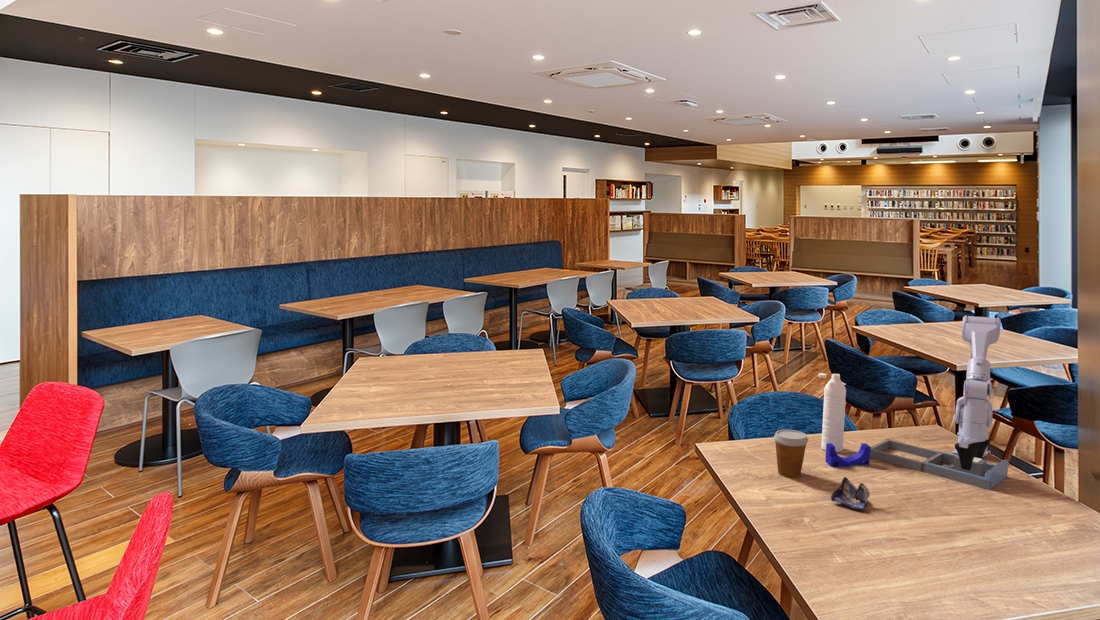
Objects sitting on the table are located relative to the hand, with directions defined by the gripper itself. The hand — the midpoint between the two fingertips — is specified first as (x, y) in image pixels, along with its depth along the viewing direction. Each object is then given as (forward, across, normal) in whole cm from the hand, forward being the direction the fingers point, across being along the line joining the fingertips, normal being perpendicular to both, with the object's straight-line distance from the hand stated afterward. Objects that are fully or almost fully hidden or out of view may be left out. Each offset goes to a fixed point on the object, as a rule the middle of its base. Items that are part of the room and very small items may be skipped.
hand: (970, 466), depth 194 cm
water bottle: (+3, +10, -38) cm, 39 cm away
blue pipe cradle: (+3, +18, -27) cm, 33 cm away
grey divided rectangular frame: (+3, 0, -10) cm, 10 cm away
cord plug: (+3, 0, -2) cm, 4 cm away
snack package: (+3, +43, -13) cm, 45 cm away
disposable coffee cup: (+3, +38, -35) cm, 52 cm away
